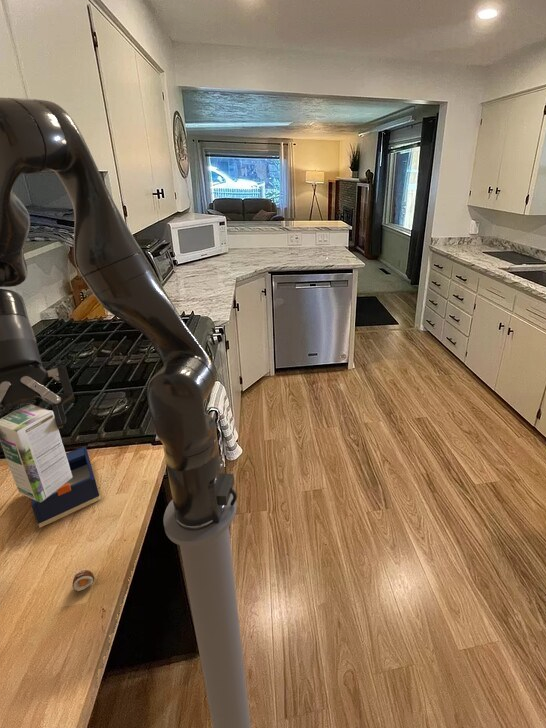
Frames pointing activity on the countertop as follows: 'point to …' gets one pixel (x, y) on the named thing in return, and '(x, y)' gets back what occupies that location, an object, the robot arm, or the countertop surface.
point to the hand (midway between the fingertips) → (29, 437)
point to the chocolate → (82, 580)
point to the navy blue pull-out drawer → (69, 491)
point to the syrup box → (34, 451)
